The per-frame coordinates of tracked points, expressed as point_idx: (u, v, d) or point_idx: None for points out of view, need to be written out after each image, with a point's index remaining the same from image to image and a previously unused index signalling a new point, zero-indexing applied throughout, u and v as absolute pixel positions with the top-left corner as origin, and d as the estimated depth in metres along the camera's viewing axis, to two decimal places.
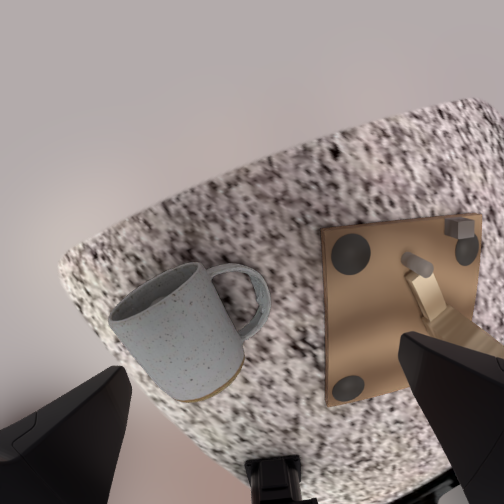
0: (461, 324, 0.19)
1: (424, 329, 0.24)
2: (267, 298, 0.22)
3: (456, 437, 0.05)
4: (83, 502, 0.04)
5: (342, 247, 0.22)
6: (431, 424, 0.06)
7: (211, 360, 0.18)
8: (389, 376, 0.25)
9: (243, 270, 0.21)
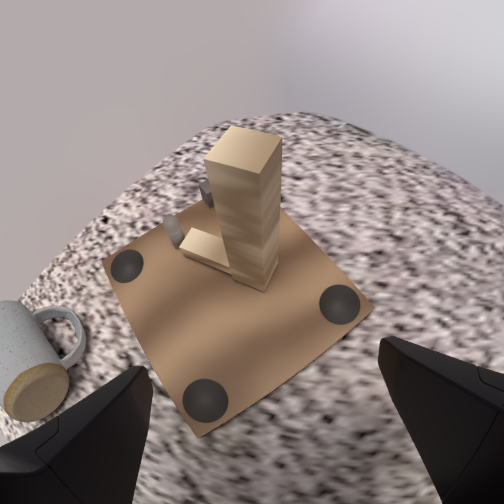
0: None
1: (253, 290, 0.23)
2: (78, 325, 0.21)
3: (434, 447, 0.05)
4: None
5: (117, 264, 0.24)
6: (410, 432, 0.06)
7: (12, 346, 0.15)
8: (253, 364, 0.20)
9: (55, 307, 0.22)
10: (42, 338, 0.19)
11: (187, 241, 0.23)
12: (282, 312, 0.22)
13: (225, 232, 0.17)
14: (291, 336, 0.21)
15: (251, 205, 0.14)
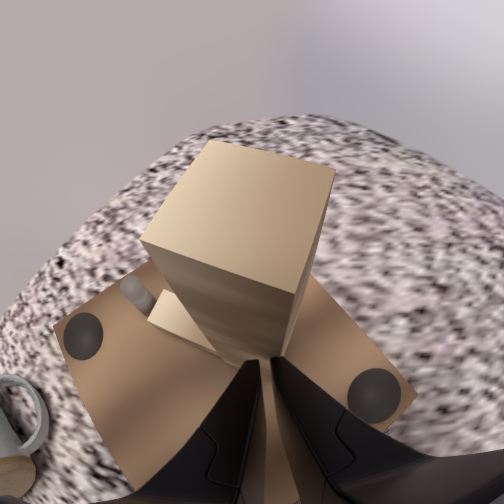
0: None
1: None
2: (36, 403, 0.14)
3: (300, 486, 0.05)
4: None
5: (71, 333, 0.16)
6: (289, 462, 0.06)
7: None
8: None
9: (9, 377, 0.14)
10: None
11: (158, 311, 0.15)
12: None
13: (210, 336, 0.09)
14: None
15: (263, 328, 0.06)
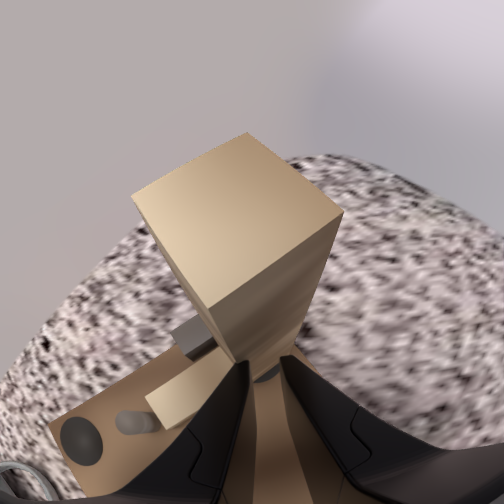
0: None
1: (268, 500, 0.11)
2: (46, 493, 0.10)
3: (312, 484, 0.05)
4: None
5: (68, 436, 0.13)
6: (299, 460, 0.06)
7: None
8: None
9: (14, 464, 0.10)
10: None
11: (164, 414, 0.12)
12: None
13: None
14: None
15: (306, 285, 0.06)
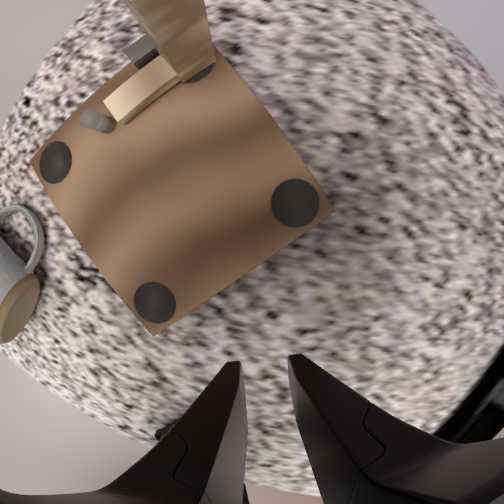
0: (152, 40, 0.12)
1: (195, 182, 0.19)
2: (31, 221, 0.19)
3: (323, 482, 0.05)
4: None
5: (46, 162, 0.18)
6: (309, 459, 0.06)
7: None
8: (197, 266, 0.20)
9: (6, 209, 0.18)
10: (2, 254, 0.17)
11: (116, 110, 0.16)
12: (228, 209, 0.19)
13: (164, 40, 0.10)
14: (237, 237, 0.20)
15: None
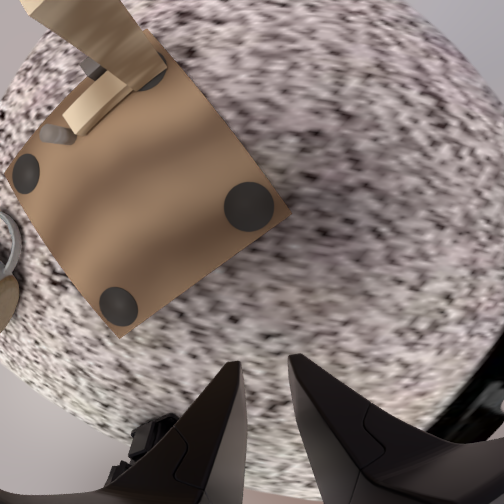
0: None
1: (150, 189, 0.19)
2: (9, 226, 0.18)
3: (323, 482, 0.05)
4: None
5: (18, 174, 0.18)
6: (309, 459, 0.06)
7: None
8: (155, 272, 0.20)
9: None
10: None
11: (74, 123, 0.16)
12: (181, 215, 0.19)
13: (98, 56, 0.10)
14: (191, 243, 0.20)
15: None
